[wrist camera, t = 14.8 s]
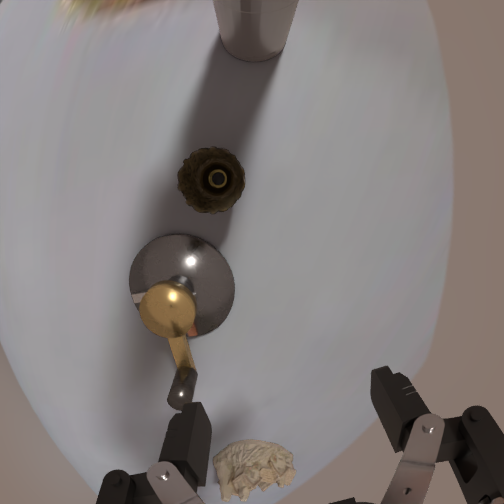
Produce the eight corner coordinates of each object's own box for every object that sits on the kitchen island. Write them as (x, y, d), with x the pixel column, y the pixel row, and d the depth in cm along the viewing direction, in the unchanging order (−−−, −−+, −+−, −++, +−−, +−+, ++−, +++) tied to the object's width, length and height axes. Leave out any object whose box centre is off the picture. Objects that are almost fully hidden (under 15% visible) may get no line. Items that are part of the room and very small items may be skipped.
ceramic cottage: (202, 459, 54) (201, 511, 40) (250, 428, 52) (257, 488, 38) (253, 477, 58) (258, 524, 44) (300, 450, 56) (314, 501, 41)
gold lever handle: (139, 283, 36) (116, 309, 28) (190, 276, 36) (176, 303, 28) (169, 375, 40) (157, 410, 32) (214, 373, 40) (209, 409, 32)
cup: (255, 190, 39) (256, 195, 31) (207, 215, 40) (197, 225, 32) (230, 141, 37) (225, 134, 30) (182, 167, 38) (166, 167, 31)
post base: (118, 246, 41) (100, 257, 35) (220, 223, 40) (215, 231, 35) (150, 338, 45) (139, 359, 39) (245, 324, 44) (244, 346, 39)
